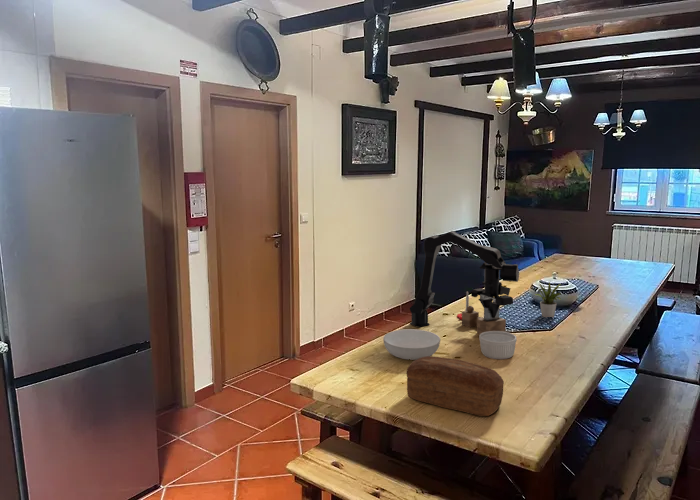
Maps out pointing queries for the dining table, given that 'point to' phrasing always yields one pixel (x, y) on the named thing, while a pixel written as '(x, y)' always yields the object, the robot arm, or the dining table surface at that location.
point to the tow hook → (466, 306)
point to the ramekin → (497, 344)
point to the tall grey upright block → (489, 314)
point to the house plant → (548, 301)
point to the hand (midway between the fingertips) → (491, 316)
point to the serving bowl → (411, 343)
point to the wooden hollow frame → (481, 322)
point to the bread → (455, 385)
